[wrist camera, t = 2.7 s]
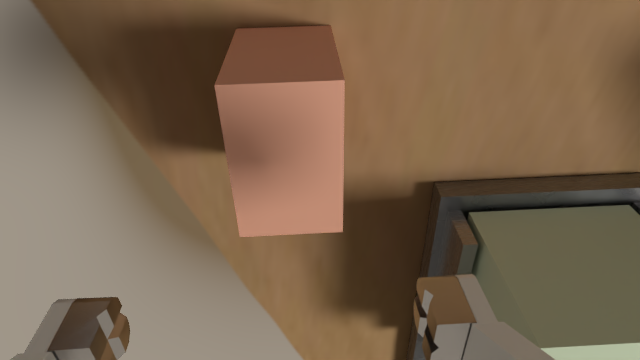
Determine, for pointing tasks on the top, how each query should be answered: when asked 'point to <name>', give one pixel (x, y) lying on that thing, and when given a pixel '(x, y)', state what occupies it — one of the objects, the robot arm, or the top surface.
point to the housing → (284, 129)
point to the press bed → (504, 195)
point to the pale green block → (564, 277)
